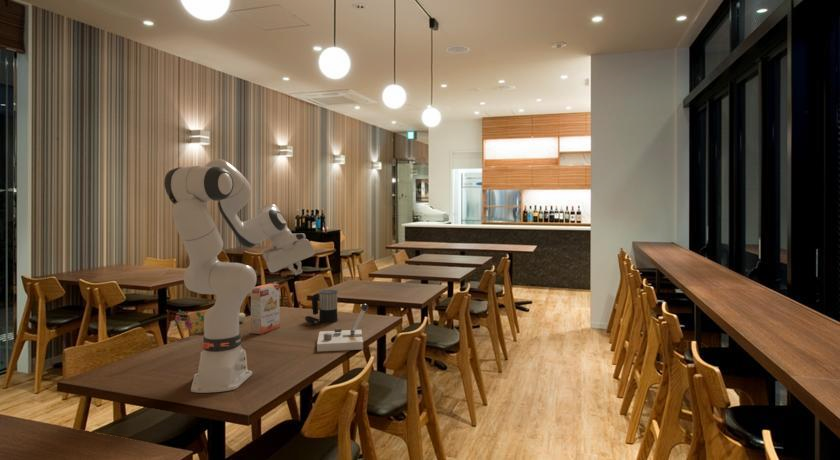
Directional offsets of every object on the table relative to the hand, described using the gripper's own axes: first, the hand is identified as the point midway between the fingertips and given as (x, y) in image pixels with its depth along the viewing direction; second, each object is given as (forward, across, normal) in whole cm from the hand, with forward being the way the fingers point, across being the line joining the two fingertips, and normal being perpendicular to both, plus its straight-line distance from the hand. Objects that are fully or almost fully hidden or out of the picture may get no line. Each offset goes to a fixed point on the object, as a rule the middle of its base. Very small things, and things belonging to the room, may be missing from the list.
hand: (299, 273), depth 209 cm
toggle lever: (+31, +11, +2) cm, 33 cm away
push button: (+29, +1, +4) cm, 29 cm away
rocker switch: (+29, +8, +8) cm, 31 cm away
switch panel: (+33, +6, +6) cm, 34 cm away
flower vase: (+4, -21, +61) cm, 65 cm away
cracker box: (+15, -5, +45) cm, 47 cm away
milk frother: (+24, +21, +43) cm, 54 cm away
